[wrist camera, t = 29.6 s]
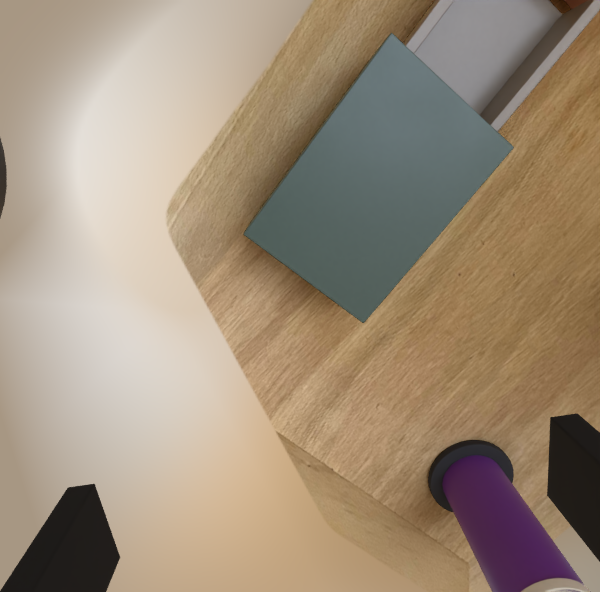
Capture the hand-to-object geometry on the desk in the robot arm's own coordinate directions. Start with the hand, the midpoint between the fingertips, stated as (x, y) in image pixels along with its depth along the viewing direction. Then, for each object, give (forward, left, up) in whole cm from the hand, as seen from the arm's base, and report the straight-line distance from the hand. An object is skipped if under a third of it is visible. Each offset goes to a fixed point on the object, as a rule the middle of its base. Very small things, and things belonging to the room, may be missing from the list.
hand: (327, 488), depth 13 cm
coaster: (+15, -26, -29) cm, 41 cm away
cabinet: (+6, +6, -29) cm, 30 cm away
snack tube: (+15, -26, -28) cm, 41 cm away
